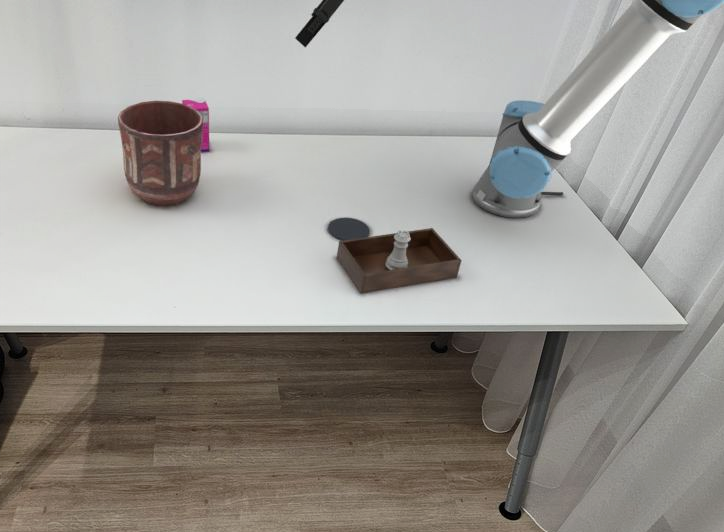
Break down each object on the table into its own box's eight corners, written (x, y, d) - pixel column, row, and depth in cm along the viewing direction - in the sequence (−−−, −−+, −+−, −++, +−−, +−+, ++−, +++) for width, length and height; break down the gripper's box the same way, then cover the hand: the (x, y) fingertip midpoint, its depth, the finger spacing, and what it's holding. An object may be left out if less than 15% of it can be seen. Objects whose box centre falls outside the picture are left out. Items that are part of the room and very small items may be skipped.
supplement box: (182, 142, 184) (181, 98, 176) (205, 141, 185) (205, 97, 178) (186, 153, 180) (185, 108, 172) (210, 151, 181) (210, 107, 174)
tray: (428, 244, 155) (432, 227, 152) (456, 278, 146) (461, 260, 143) (336, 258, 149) (338, 241, 146) (360, 293, 141) (363, 275, 138)
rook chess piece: (401, 276, 145) (409, 242, 140) (381, 268, 147) (388, 234, 141) (410, 265, 148) (418, 232, 143) (390, 258, 150) (397, 224, 144)
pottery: (186, 168, 174) (184, 95, 162) (214, 204, 163) (215, 128, 151) (114, 181, 168) (107, 106, 156) (138, 219, 156) (133, 141, 144)
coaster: (363, 218, 161) (363, 216, 161) (373, 241, 155) (374, 239, 154) (324, 219, 160) (324, 218, 160) (332, 242, 153) (332, 240, 153)
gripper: (377, -90, 141) (309, -3, 155) (352, -55, 123) (278, 39, 138) (405, -61, 143) (335, 22, 157) (384, -23, 125) (308, 66, 140)
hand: (308, 30), depth 147 cm, fingers open, 13 cm apart
